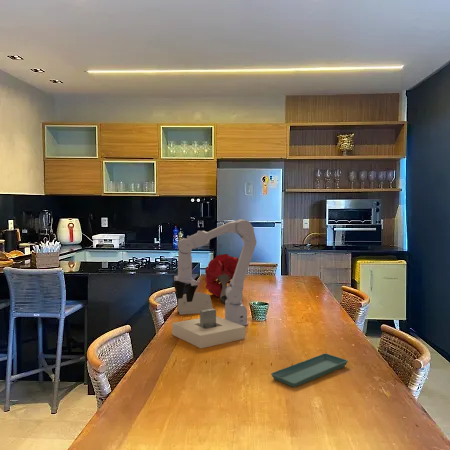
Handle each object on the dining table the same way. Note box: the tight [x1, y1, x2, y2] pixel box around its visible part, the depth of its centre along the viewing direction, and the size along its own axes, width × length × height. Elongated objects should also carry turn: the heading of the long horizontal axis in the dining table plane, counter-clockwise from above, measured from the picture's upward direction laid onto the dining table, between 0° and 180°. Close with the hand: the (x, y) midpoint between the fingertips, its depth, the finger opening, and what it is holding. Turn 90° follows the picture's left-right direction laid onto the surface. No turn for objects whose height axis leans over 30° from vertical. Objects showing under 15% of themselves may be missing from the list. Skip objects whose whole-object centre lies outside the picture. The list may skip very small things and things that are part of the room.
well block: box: [171, 315, 246, 349], centre depth 172 cm, size 20×20×4 cm
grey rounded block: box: [176, 291, 214, 315], centre depth 211 cm, size 17×5×10 cm, turn 107°
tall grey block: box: [199, 308, 217, 329], centre depth 172 cm, size 6×6×10 cm
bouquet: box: [204, 253, 239, 304], centre depth 240 cm, size 22×24×30 cm
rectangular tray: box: [270, 352, 349, 388], centre depth 137 cm, size 26×9×2 cm, turn 131°
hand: (184, 300), depth 188 cm, fingers open, 7 cm apart
